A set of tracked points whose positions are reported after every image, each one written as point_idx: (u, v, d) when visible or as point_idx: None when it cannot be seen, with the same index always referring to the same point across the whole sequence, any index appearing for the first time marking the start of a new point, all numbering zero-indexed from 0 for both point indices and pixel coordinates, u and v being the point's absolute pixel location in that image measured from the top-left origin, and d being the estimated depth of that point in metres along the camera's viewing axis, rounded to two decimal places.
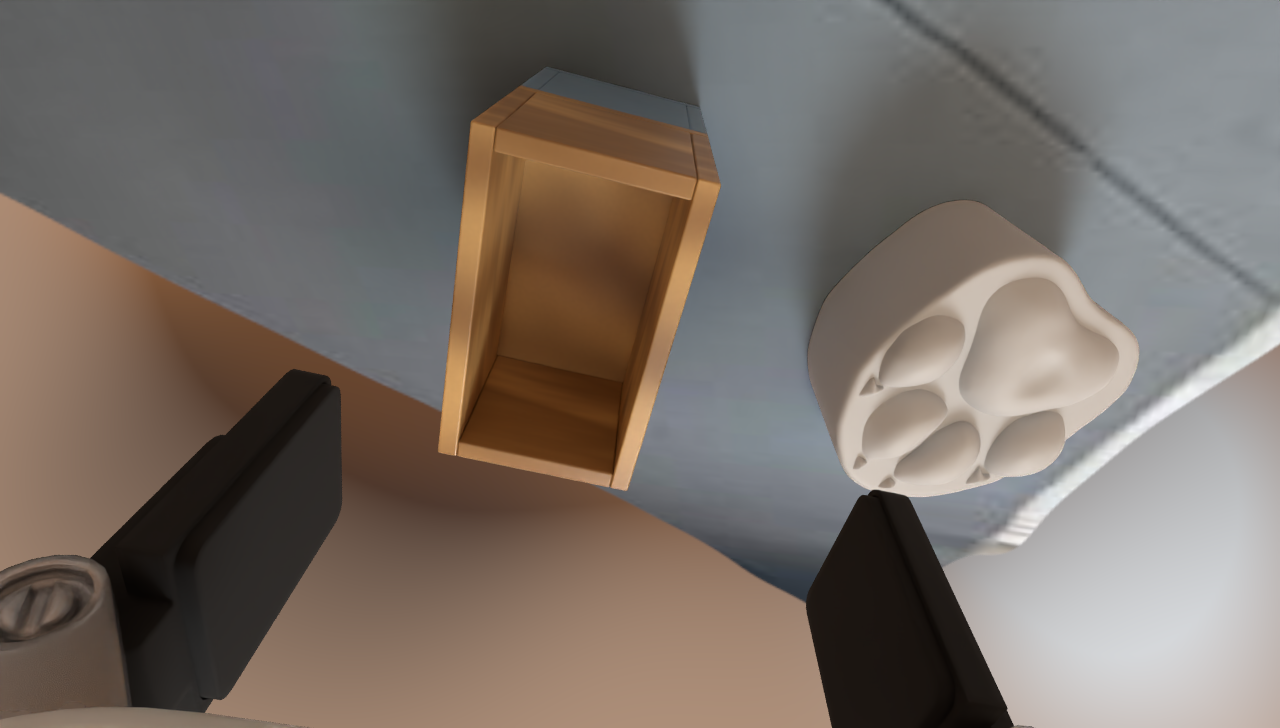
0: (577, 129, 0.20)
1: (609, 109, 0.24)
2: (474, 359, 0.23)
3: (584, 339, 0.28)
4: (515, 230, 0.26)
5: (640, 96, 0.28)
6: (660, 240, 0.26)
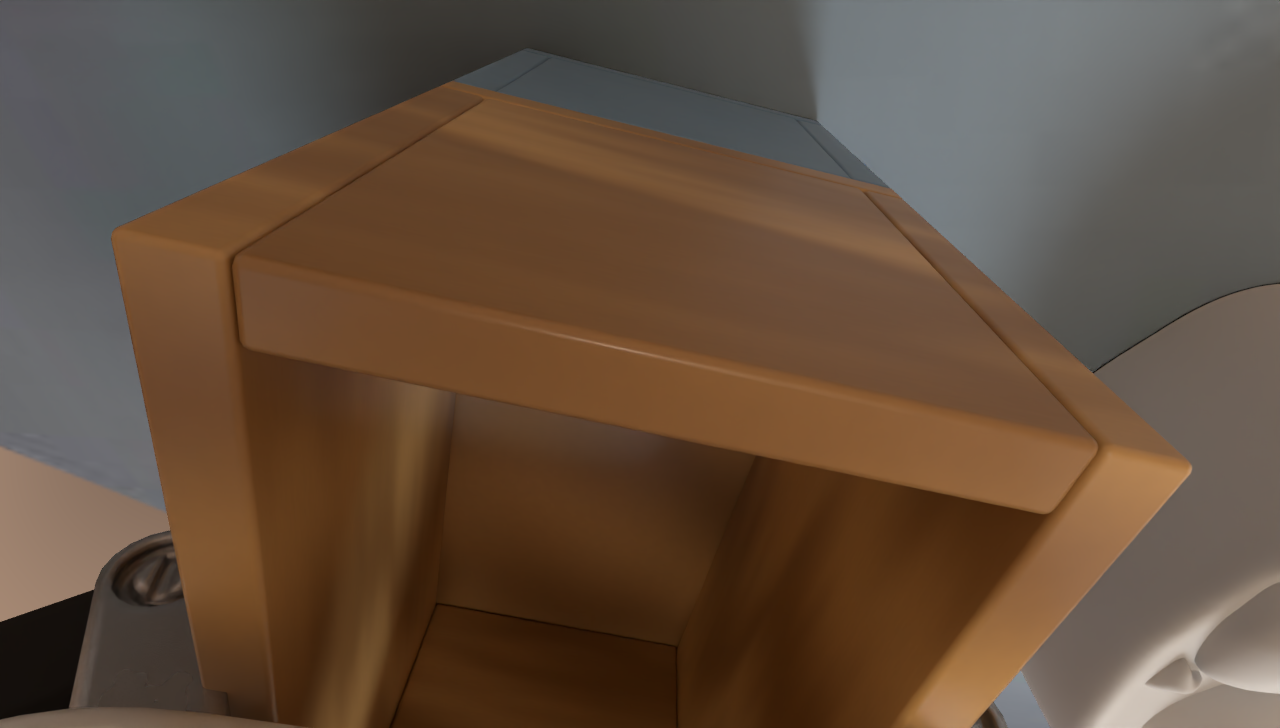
0: (593, 218, 0.06)
1: (665, 135, 0.10)
2: None
3: (604, 580, 0.14)
4: (456, 395, 0.12)
5: (711, 103, 0.14)
6: None
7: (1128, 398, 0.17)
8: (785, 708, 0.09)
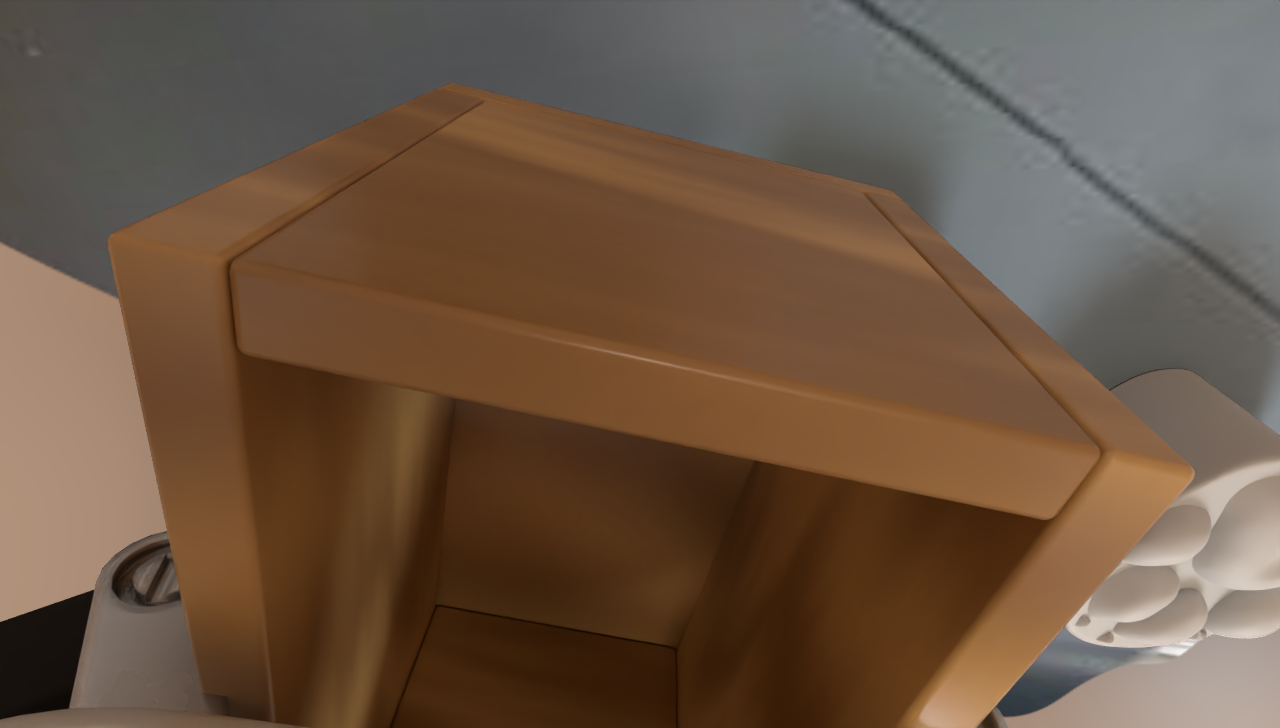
0: (593, 221, 0.06)
1: (665, 137, 0.10)
2: None
3: (604, 582, 0.14)
4: None
5: None
6: None
7: None
8: (785, 712, 0.09)
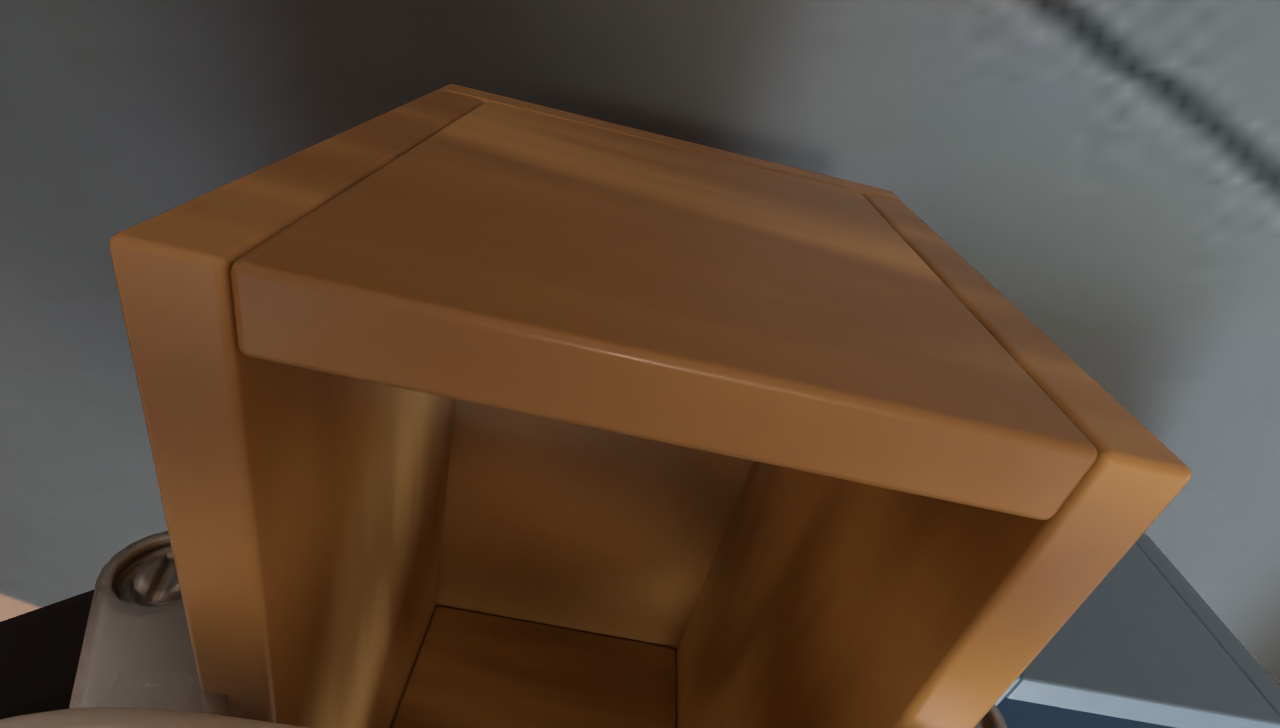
0: (593, 223, 0.06)
1: (665, 138, 0.10)
2: None
3: (604, 582, 0.14)
4: None
5: None
6: None
7: None
8: (785, 711, 0.09)
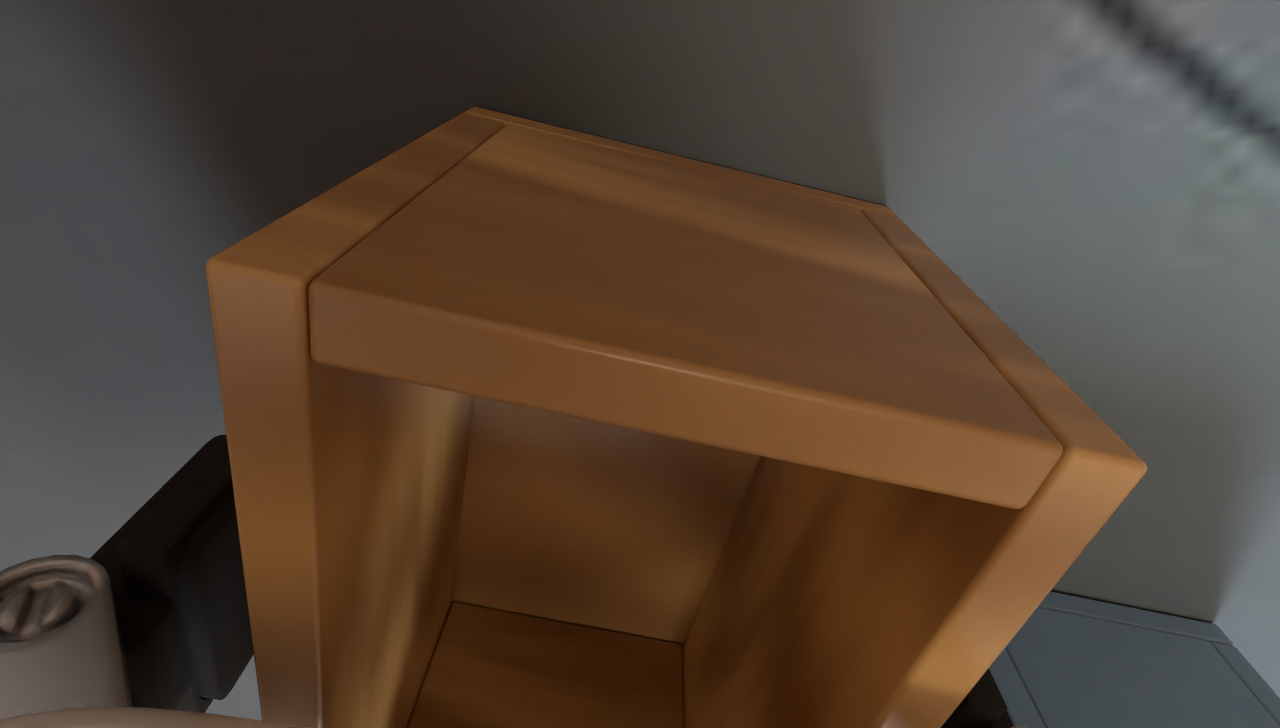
0: (613, 242, 0.07)
1: (674, 157, 0.11)
2: None
3: (613, 579, 0.15)
4: (474, 401, 0.13)
5: (1151, 656, 0.14)
6: None
7: None
8: (788, 696, 0.09)
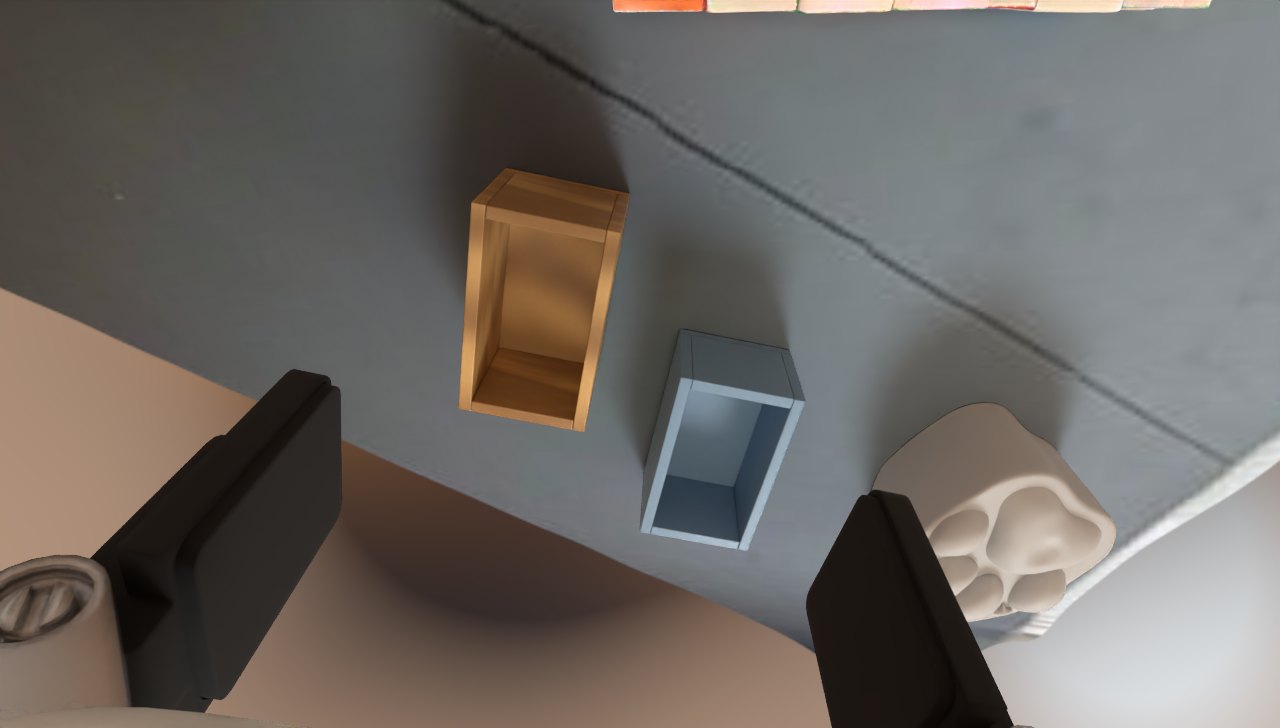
0: (537, 200, 0.32)
1: (564, 180, 0.36)
2: (480, 346, 0.36)
3: (558, 334, 0.41)
4: (506, 261, 0.38)
5: (750, 352, 0.40)
6: None
7: (921, 450, 0.43)
8: None
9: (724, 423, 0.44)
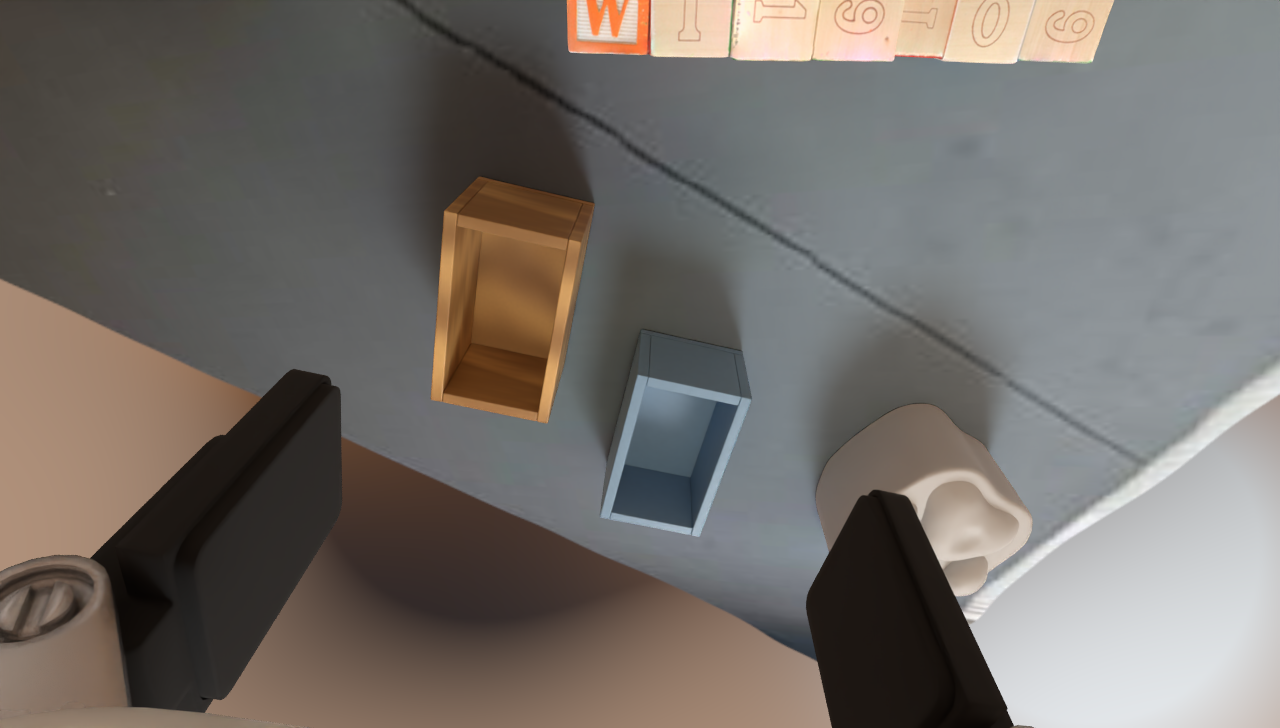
0: (506, 209, 0.35)
1: (533, 190, 0.39)
2: (451, 342, 0.38)
3: (527, 331, 0.44)
4: (479, 262, 0.41)
5: (704, 352, 0.43)
6: None
7: (862, 446, 0.46)
8: None
9: (681, 418, 0.47)
